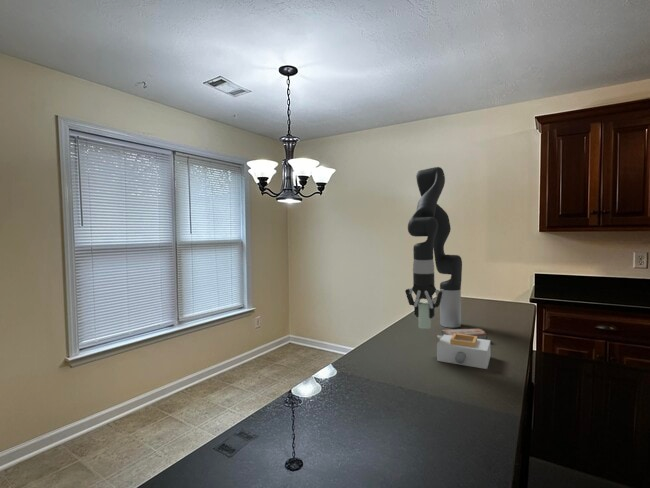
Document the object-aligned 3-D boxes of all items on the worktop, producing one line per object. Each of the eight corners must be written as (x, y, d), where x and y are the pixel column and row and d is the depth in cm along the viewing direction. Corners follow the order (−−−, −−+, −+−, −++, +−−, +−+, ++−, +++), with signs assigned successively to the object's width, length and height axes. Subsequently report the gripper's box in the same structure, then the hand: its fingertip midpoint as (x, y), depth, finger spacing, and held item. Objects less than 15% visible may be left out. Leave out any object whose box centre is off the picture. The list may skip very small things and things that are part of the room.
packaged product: (478, 326, 150) (490, 333, 140) (478, 337, 150) (490, 345, 140) (436, 327, 149) (445, 334, 139) (436, 339, 149) (446, 347, 139)
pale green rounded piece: (420, 325, 135) (419, 301, 134) (432, 326, 133) (431, 302, 132) (417, 328, 131) (416, 304, 130) (429, 329, 129) (428, 305, 128)
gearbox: (444, 350, 135) (443, 330, 134) (490, 356, 127) (490, 336, 126) (435, 363, 122) (434, 342, 121) (486, 372, 114) (486, 349, 113)
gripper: (445, 270, 130) (446, 316, 131) (407, 269, 137) (408, 313, 138) (441, 273, 124) (442, 322, 125) (401, 272, 131) (402, 317, 132)
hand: (424, 317), depth 132 cm, fingers closed on pale green rounded piece, 4 cm apart
